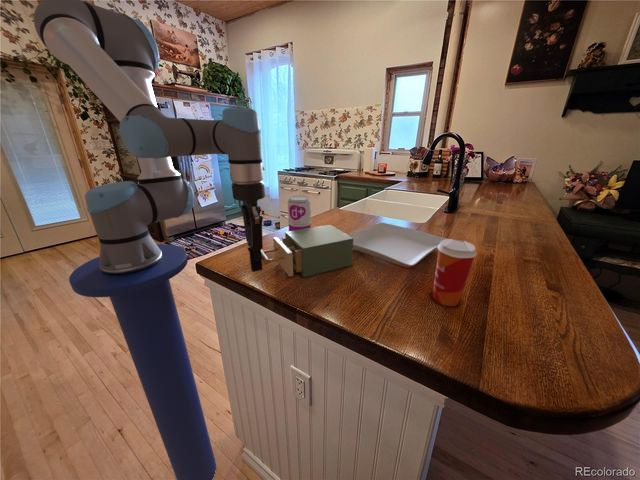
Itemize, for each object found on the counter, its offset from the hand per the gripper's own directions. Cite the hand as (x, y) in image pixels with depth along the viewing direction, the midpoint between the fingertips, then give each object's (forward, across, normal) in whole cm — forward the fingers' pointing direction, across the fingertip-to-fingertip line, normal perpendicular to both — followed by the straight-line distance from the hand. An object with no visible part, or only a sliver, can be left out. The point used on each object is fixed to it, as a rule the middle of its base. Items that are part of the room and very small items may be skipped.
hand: (256, 269), depth 69 cm
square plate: (+2, -2, -46) cm, 46 cm away
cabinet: (+2, 0, -19) cm, 19 cm away
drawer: (+1, 0, -11) cm, 12 cm away
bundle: (0, 0, -13) cm, 13 cm away
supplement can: (+2, +21, -22) cm, 30 cm away
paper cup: (+2, -30, -37) cm, 48 cm away
